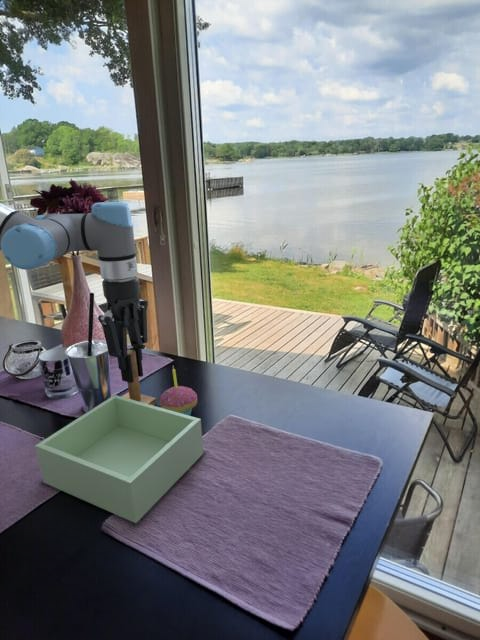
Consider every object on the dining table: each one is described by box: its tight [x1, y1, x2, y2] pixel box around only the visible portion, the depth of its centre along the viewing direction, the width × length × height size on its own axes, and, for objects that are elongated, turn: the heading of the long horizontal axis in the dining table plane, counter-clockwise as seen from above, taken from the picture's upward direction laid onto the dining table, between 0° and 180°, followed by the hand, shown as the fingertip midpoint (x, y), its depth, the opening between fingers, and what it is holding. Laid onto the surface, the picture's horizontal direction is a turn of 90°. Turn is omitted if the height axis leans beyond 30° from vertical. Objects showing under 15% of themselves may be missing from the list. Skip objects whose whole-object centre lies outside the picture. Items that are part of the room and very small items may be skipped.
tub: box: [34, 394, 204, 524], centre depth 83 cm, size 22×20×8 cm
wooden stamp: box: [121, 349, 158, 407], centre depth 101 cm, size 8×5×15 cm, turn 62°
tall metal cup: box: [64, 292, 112, 414], centre depth 100 cm, size 11×11×30 cm
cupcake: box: [159, 365, 198, 416], centre depth 98 cm, size 9×8×12 cm
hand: (132, 377), depth 101 cm, fingers closed on wooden stamp, 3 cm apart
